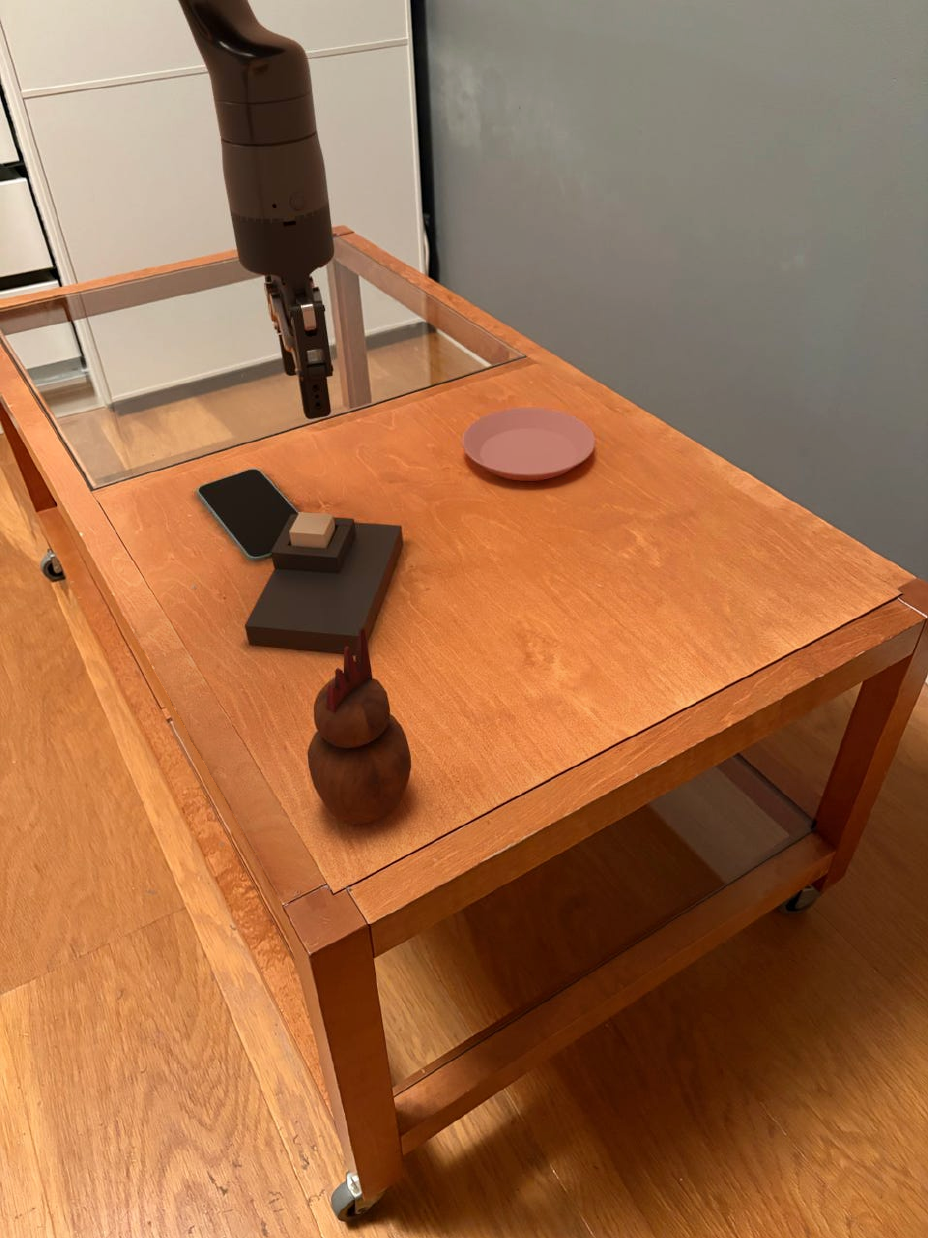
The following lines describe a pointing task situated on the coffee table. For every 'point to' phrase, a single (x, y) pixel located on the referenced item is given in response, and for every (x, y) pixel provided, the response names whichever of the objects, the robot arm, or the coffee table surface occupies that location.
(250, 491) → the smartphone
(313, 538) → the beige block
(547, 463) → the plate
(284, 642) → the stacked tray base
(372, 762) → the wooden figurine
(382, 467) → the coffee table surface
